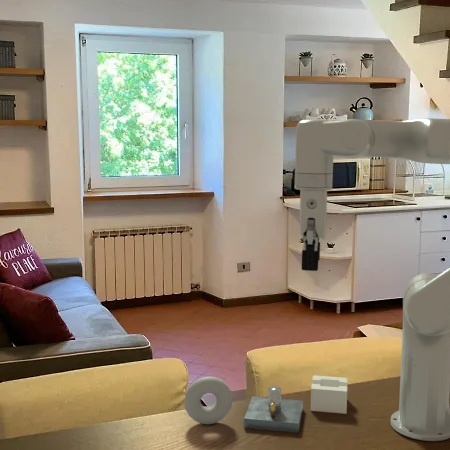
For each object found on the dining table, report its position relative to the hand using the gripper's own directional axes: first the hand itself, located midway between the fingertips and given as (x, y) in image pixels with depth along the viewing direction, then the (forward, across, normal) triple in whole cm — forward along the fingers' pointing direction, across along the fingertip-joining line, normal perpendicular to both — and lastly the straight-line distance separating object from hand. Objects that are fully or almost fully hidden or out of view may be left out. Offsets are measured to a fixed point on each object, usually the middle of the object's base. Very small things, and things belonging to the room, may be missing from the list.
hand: (310, 265), depth 129 cm
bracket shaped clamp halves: (+32, +5, -5) cm, 33 cm away
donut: (+33, -8, +20) cm, 39 cm away
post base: (+32, -3, +6) cm, 33 cm away
